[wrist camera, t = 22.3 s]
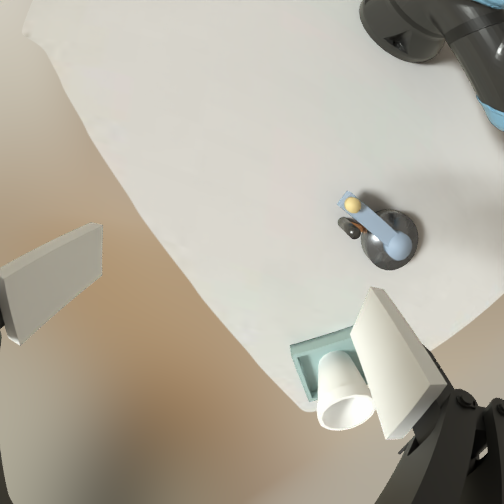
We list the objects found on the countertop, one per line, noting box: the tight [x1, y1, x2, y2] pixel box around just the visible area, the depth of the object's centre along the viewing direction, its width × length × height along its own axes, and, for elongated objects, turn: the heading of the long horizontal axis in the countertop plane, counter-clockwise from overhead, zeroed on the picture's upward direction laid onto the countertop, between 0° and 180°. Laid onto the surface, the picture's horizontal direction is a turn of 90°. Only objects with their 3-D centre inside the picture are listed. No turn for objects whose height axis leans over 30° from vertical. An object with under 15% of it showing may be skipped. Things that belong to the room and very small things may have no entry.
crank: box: [337, 191, 412, 261], centre depth 36 cm, size 13×4×3 cm, turn 55°
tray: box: [290, 326, 368, 402], centre depth 48 cm, size 14×14×3 cm
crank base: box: [338, 209, 418, 270], centre depth 38 cm, size 12×10×6 cm
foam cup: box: [316, 350, 376, 431], centre depth 43 cm, size 10×9×13 cm
